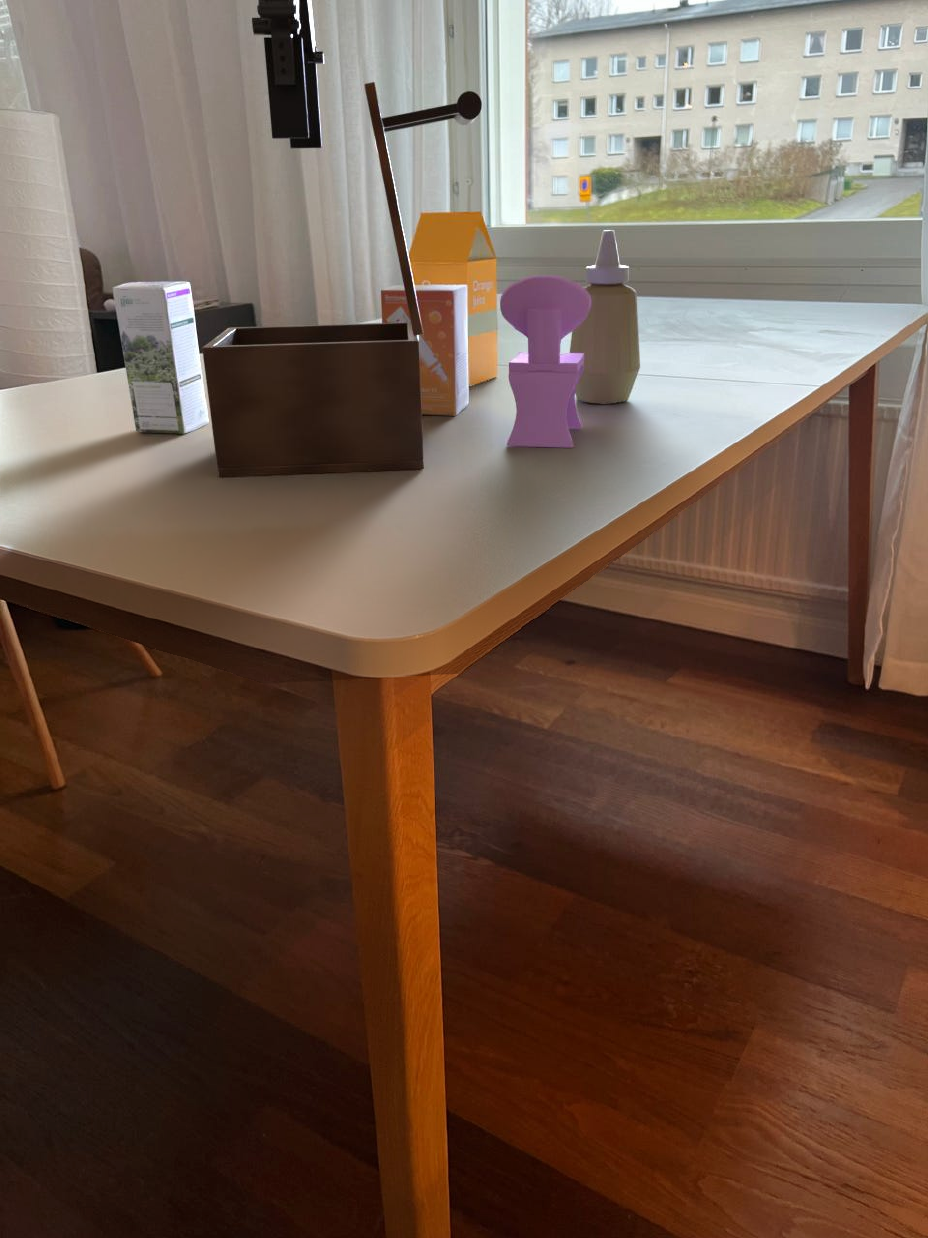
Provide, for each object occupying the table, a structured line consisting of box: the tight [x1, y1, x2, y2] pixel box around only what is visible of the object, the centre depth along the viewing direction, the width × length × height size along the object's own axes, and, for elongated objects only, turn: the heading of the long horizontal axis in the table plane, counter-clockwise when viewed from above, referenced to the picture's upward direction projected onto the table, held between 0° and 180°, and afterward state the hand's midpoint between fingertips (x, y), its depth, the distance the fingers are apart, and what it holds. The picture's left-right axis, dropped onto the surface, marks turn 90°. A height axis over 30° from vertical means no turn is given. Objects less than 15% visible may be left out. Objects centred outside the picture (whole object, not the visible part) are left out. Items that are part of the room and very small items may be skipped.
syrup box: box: [111, 281, 210, 435], centre depth 98 cm, size 6×6×14 cm
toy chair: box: [499, 274, 591, 449], centre depth 90 cm, size 8×9×15 cm
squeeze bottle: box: [569, 229, 641, 404], centre depth 106 cm, size 8×8×18 cm
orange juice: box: [408, 211, 499, 387], centre depth 120 cm, size 8×9×20 cm
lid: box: [363, 81, 483, 336], centre depth 81 cm, size 18×14×9 cm
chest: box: [201, 322, 425, 478], centre depth 87 cm, size 18×14×11 cm
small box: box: [380, 284, 470, 417], centre depth 104 cm, size 8×6×13 cm
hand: (299, 143), depth 78 cm, fingers open, 13 cm apart
